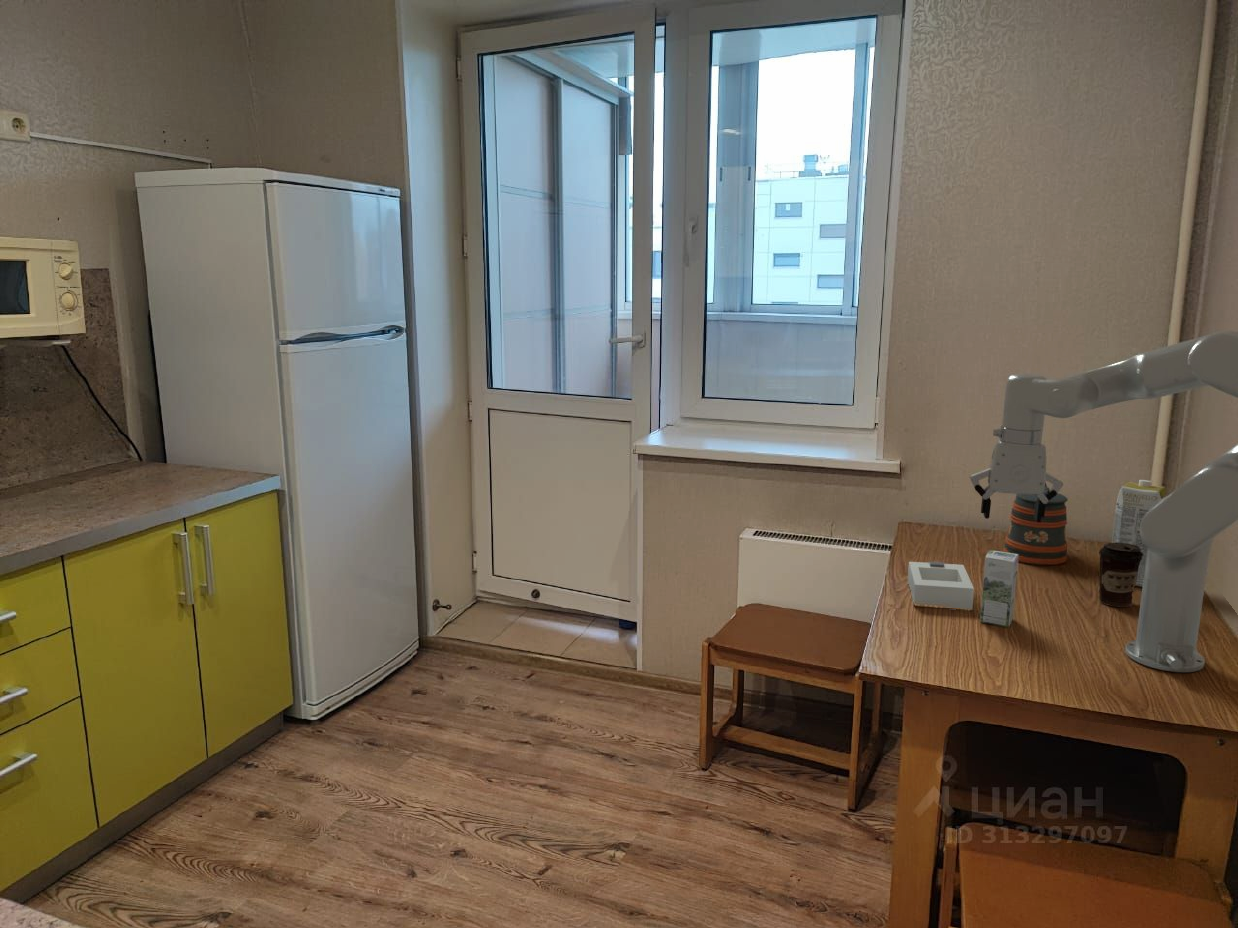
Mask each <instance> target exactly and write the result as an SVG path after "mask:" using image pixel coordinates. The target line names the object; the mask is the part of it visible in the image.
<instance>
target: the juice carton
mask: <svg viewBox="0 0 1238 928" xmlns="http://www.w3.org/2000/svg"><path fill="white" fill-rule="evenodd" d="M1152 483H1153V481H1152V480H1146V479H1139V481H1138V483H1136V482H1130V481H1127V482H1126V483H1125V484H1124V485H1121V487H1120V489H1119V491H1118V494H1117V499H1116V502H1115V503H1116V504H1115V511H1114V512H1115V513H1114V520H1113V529H1112V539H1111V543H1116V542H1118V543H1128V544H1132V545H1136V546H1138V547H1139V548H1140V549H1141V550H1140V551H1141V552H1142V553H1143V556H1142V560H1141V561H1140V564H1139V568H1138V576H1137V581H1136V584H1135V586H1136V587H1143V579H1144V571H1145V564H1146V557H1147V551H1148V548H1147V547H1146V546H1145V544H1144V543H1143V541H1142V539H1141V535H1140V524H1141V521H1142V518H1143V517H1144V515H1145V514H1146V513H1147V512H1148V511H1149V510H1150V509H1151V508H1152V507H1153V506H1154V505H1155V504H1156V503H1158V502H1159V501H1160V500H1161V499H1163V498H1164V497H1166V496H1167V489H1166V487H1165V486H1157V485H1156V486H1155V485H1152Z"/></svg>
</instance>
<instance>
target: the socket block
mask: <svg viewBox="0 0 1238 928" xmlns="http://www.w3.org/2000/svg"><path fill="white" fill-rule="evenodd" d="M907 568H908V571H907V585H908V584H909V585H908V588H909V587H910V589H909V591H910V590H911V593H910V595H911V594H912V598H913V602H914V604H924V605H925V604H926V605H936V606H944V607H951V608H962V609H972V610H973V607H974V606H973V605H974V604H973V603H974V596H975V594H974V593H975V588H974V585H973V583H972V580H971V578H970V577H969V574H968V572H967V570H966V568H965V566H964V564H954V563H953V564H952V563H944V562H943V561H934V560H933V561H931V560H930V561H929V562H922V561H921V562H920V561H918V562H917V561H908V567H907ZM912 598H911V599H912ZM913 602H912V603H913Z"/></svg>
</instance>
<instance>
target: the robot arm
mask: <svg viewBox="0 0 1238 928" xmlns="http://www.w3.org/2000/svg"><path fill="white" fill-rule="evenodd" d="M1207 386H1210V387H1212V388H1214V389H1216V390H1218V391H1220V392H1223V393H1225V394H1227V395H1230V396H1232V397H1235V398H1237V399H1238V331H1236V330H1222V331H1218V332H1214V333H1211V334H1206V335H1203V336H1199V337H1196V338H1192V339H1189V340H1186V341H1181V342H1177V343H1174V344H1170V345H1167V346H1163V347H1159V348H1157V349H1152V350H1148V351H1145V352H1142V353H1138V354H1135V355H1134V356H1132V357H1130V358H1128V359H1126V360H1122V361H1119V362H1116V363H1113V364H1109V365H1106V366H1102V367H1099V368H1098V367H1097V368H1095V369H1091V370H1086V371H1083V372H1079V373H1076V374H1071V375H1069V376H1068V375H1067V376H1064V377H1060V378H1056V379H1055V378H1054V379H1053V378H1052V379H1050V378H1049V379H1047V378H1046V376H1044V375H1040V374H1035V373H1033V374H1031V373H1016V374H1015V373H1014V374H1011V375H1010V376H1008V377H1007V380H1006V385H1005V391H1004V392H1005V393H1004V401H1003V409H1002V410H1003V411H1002V420H1001V425H1000V428H997V429H993V431H992V437H997V438H999V440H996V442H995V446H994V447H993V452H992V455H991V460H990V465H989V467H988V468H987V469H984V470H980V471H978V472H976V473H974V474H971V475H970V476H969V479H970V481H971V484H972V486H973V488H974V489H975V491H976V493H978V495H979V496H980V497H982V498H981V506H980V513H981V514H983V516H984V519H986V520H989V519H990V514H991V505H992V499H991V496H993V495H994V494H995V493H1001V494H1013V495H1014V494H1015V495H1016V494H1026V495H1037V496H1038V500H1037V501H1036V504H1035V512H1034V519H1035V521H1036V522H1038V523H1040V522H1041V518H1044V514H1045V506H1046V503H1048V501H1049V500H1051V499H1052V498H1053V497H1055V496H1056V495H1057V493H1059V492H1060V490H1061V489H1062V488H1063V486H1064V483H1063V482H1062V480H1060V479H1059V478H1056V477H1055V476H1053V475H1051V474H1049V473H1048V472H1047V448H1046V444H1044V443H1042V440H1043V431H1044V425H1045V424H1044V422H1045V416H1048V417H1052V418H1057V419H1068V418H1071V417H1074V416H1076V415H1078V414H1082V413H1084V412H1087V411H1090V410H1095V409H1097V408H1102V407H1105V406H1110V405H1114V404H1115V405H1116V404H1119V403H1123V402H1127V401H1132V400H1133V401H1134V400H1152V399H1158V398H1159V399H1160V398H1163V397H1166V396H1169V395H1170V396H1171V395H1174V394H1177V393H1178V394H1179V393H1182V392H1187V391H1190V390H1191V391H1192V390H1196V389H1199V388H1204V387H1207ZM986 478H987V482H988V483H987V484H988V485H987V486H986V487H982V486H981V484H980V480H984V479H986ZM1046 481H1047V482H1048V483H1050V484H1052V486H1051V488H1049V490H1048V491H1047V492H1046V493H1044V494H1043V492H1044V489H1045V483H1046ZM1237 521H1238V443H1236V445H1234V446H1233V447H1231V448H1230V449H1229V450H1227V451H1225V452H1224V453H1223V454H1222V455H1220V456H1218V457H1216V458H1214V459H1213V460H1210V461H1209V462H1208V463H1206V464H1205V465H1204V466H1203V467H1202V468H1200V470H1198V471H1197V472H1196V473H1195V474H1193V475H1192V476H1191V477H1190V478H1188V479H1187V480H1186V481H1185V482H1183V483H1182V484H1181V485H1180V486H1178V487H1177V488H1176V489H1174V490H1173V491H1172V492H1171V493H1169V494H1168V495H1166V497H1164V498H1163V499H1161V500H1160V501H1159V502H1158V503H1156V504H1155V505H1154V506H1153V507H1152V508H1151V509H1150V510H1149V511H1148V512H1147V513H1146V514H1145V515H1144V517H1143V518H1142V521H1141V524H1140V535H1141V539H1142V541H1143V543H1144V544H1145V546H1146V547H1147V548H1148V551H1147V557H1146V564H1145V571H1144V579H1143V587H1142V588H1141V597H1140V606H1139V613H1138V621H1137V628H1136V630H1137V631H1136V639H1134V640H1131V641H1129V642H1127V643H1126V644H1125V649H1124V651H1125V654H1126V655H1127V656H1128V658H1130V659H1132V660H1133V661H1134V662H1137V663H1138V664H1141V665H1144V666H1145V667H1148V668H1153V669H1157V670H1161V671H1166V672H1172V673H1194V672H1197V671H1200V670H1203V669H1204V667H1205V662H1206V660H1205V659H1206V658H1204V656H1203V655H1202V654H1200V653H1199V652H1197V645H1198V640H1199V639H1198V637H1199V631H1200V623H1201V615H1202V607H1203V602H1204V594H1205V585H1206V583H1207V582H1206V581H1207V575H1208V567H1209V561H1210V556H1211V551H1212V546H1213V541H1214V538H1215V537H1217V536H1218V535H1219V534H1221V533H1222V532H1223V531H1224V530H1227V528H1229V527H1230V526H1232V525H1233V524H1235V522H1237Z"/></svg>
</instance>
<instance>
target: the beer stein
mask: <svg viewBox="0 0 1238 928" xmlns="http://www.w3.org/2000/svg"><path fill="white" fill-rule="evenodd" d="M1048 490H1050V488H1049V487H1048V485H1047V483H1046V482H1045V489H1044V492H1043V494H1044V493H1046V492H1047V491H1048ZM1037 500H1038V496H1037V495H1026V494H1015V499H1014V500H1013V502H1012V508H1011V512H1010V516H1009V519H1010V525H1009V529H1008V533H1007V534H1006V536H1005V542H1004V547H1003V549H1002V552H1007V553H1013V554H1018V555H1019V557H1018V563H1022V564H1026V565H1035V566H1057V565H1061V564H1064V563H1066V561H1067V560H1068V542H1067V538H1066V532H1067V531H1066V526H1067V524H1068V521H1067V506H1066V502H1068V500H1069V499H1068V498H1067V497H1066V496H1065V495H1063V494H1061V493H1059V492H1058V493H1057V495H1056V496H1055V497H1053V498H1052V499H1051V500H1049V501H1048V503H1046V506H1045V514H1044V518H1041V522H1040V523H1038V522H1036V521H1035V519H1034V512H1035V504H1036V501H1037Z"/></svg>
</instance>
